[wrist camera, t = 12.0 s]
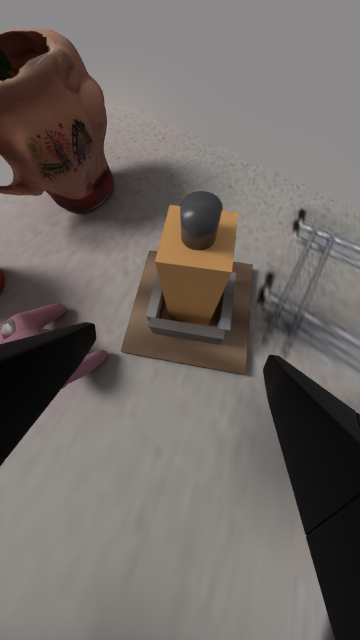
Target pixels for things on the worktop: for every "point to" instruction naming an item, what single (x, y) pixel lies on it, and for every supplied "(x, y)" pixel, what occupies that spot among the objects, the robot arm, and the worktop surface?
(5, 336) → the video game controller
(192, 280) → the plug
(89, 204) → the decorative planter
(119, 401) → the worktop surface
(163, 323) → the holder
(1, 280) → the canned food
